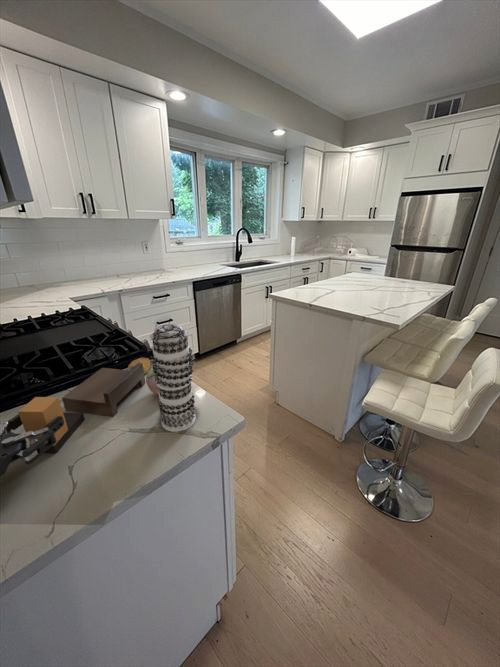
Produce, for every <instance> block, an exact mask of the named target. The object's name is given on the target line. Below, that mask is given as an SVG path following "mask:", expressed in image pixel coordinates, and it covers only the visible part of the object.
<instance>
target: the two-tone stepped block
mask: <svg viewBox="0 0 500 667" xmlns="http://www.w3.org/2000/svg"><path fill="white" fill-rule="evenodd" d="M17 413H18V414H19V416H20V419H21V421H22V427H23V429H24V431H25V432H24V433H26V432H29V431H33V432H34V431H37V430H40V429H42V428H45V426H46V425H47V424H48V423H50V422H51V421H52V420H53V419H55V418H56V417H57V416H62V417H63V420H64V425H63V426H62V427H61V428H60V429H59V430H58V431H57V432H55V433H54V435H55V438H56V441H57V442H56V443H55V444H54V445H53V446H51V447H50V448H49V449H48V450H47V451H45V452H44V453H43V454H58V452H59V451H60V450H61V449H62V448H63V446H64V445H65V444H66V442H67V441H68V440H69V439H70V438H71V437H72V435H73V434H74V433H75V432H76V431H77V429H78V428H79V427H80V425H81V424H82V423H83V422H84V421H85V416H84V413H82V412H64V411H63V408H62V405H61V402H60V398H59V397H58V396H34V398H32V399H31V400H30V401H29V402H28V403H26V404H25V405H24V406H23V407H21V409H19V410H18V411H17ZM42 436H43V435H39V436H37V437H35V439H39V438H41V437H42ZM27 439H28V443H29V444H31V441H30V439H29V438H27ZM47 442H48V441H46V442H45V443H44V444H46V443H47Z"/></svg>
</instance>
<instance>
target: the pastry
mask: <svg viewBox="0 0 500 667" xmlns="http://www.w3.org/2000/svg"><path fill="white" fill-rule="evenodd" d="M138 363H142V364H143V370H144V375H147V373H148V372H149V371H150V370H151V360H150V358H148V357H139V358H136V359H134V360H132V361H131V362H130V363H129V364H128V366H127V370H129V371H130V370H131V369H132V368H133V367H134V366H135V365H137V364H138Z"/></svg>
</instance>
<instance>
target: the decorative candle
mask: <svg viewBox="0 0 500 667" xmlns="http://www.w3.org/2000/svg"><path fill="white" fill-rule="evenodd" d="M188 336H189V332H188V330H186V329H184V328H183V327H182V326H181V325H178V324H164V325H160V326H158V327H156V328H155V329H154V331H153V332H152V333H151V334H150V335H149V338H150V340H151V341H152V346H153V347H152V355H150V359H151V360H150V364H152V367H151V369H152V368H153V369H154V370H153V372H154V373H155V374H154V377H156V378H155V381H156V384H157V387H159V395H158V400H157V401H158V407H159V408H158V409H159V416H160V423H161V426H162V428H163V429H164V430H166V431H168V432H172V433H175V432H177V433H178V432H183V431H186V430H188V429H189V428H191V427H192V426H193V425H194V423H195V422H196V418H197V417H196V414H197V413H196V411H195V409H196V406H195V402H196V401H195V395H194V392H193V391H194V390H193V387H192V382H193V377H194V376H193V372H194V369H193V366H194V364H193V362H192V361H193V359H194V357H193V355H192V354H193V349H192V348H191V347H190V345H189V341H188V340H189V339H188Z"/></svg>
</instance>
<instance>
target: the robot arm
mask: <svg viewBox="0 0 500 667" xmlns="http://www.w3.org/2000/svg"><path fill="white" fill-rule="evenodd" d="M63 425H64V420H63V417H62V416H57V417H56V418H55V419H53V420H52V421H51V422H50V423H48V424H47V425H46V426H45V428H42V429H40V430H37V431H34V432H33V431H29V432H24V433H15V432H13V431H16V430H17V429H19V427H21V426H23V424H22V421H21V419H20V416H19V413H18V414H16V415H15V416H13V417H12V418H10V419H8V420H4V421H2V422H0V479H1V478H2V477H3V476H4V475H5V474H6V472H7V470H8V468H9V466H10V465H11V464H12V463H14V462H16V461H18V460H23V461H24V462H25V464H26V465H31V464H33V462H35V461H36V460H38V459H39V458H40V457H41V456H42V455H43V454H45V453H44V452H45V451H47V450H48V449H49V448H50V447H51V446H53V445H54V444H55V443H56V442H57V441H56V438H55V435H54V433H55V432H57V431H58V430H59V429H60V428H61V427H62V426H63ZM39 435H43V436H42V437H41V438H39V439H35V437H37V436H39ZM28 438H29V439H30V441H31V444H30V443H29V444H27V443H28V442H27V439H28ZM29 439H28V440H29ZM46 441H48V442H47V443H46V444H44V443H45V442H46Z"/></svg>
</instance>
